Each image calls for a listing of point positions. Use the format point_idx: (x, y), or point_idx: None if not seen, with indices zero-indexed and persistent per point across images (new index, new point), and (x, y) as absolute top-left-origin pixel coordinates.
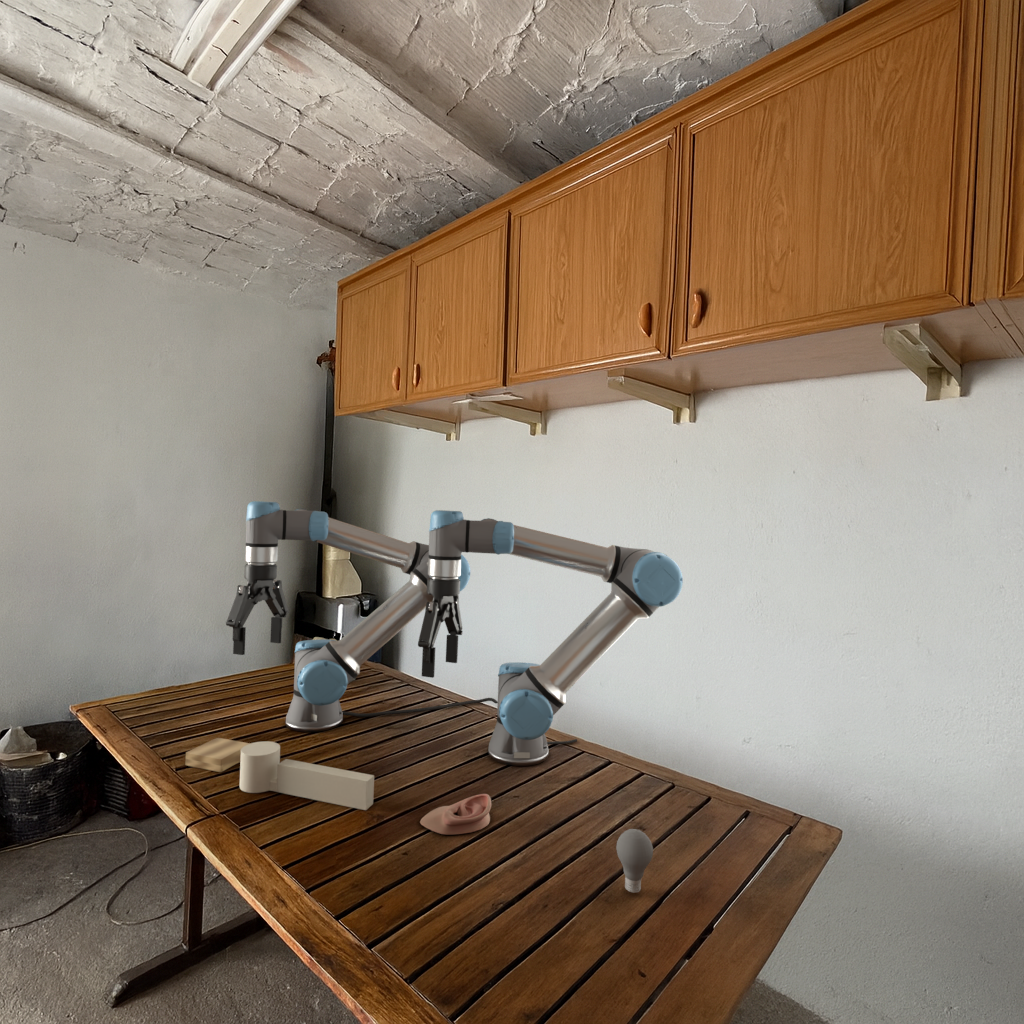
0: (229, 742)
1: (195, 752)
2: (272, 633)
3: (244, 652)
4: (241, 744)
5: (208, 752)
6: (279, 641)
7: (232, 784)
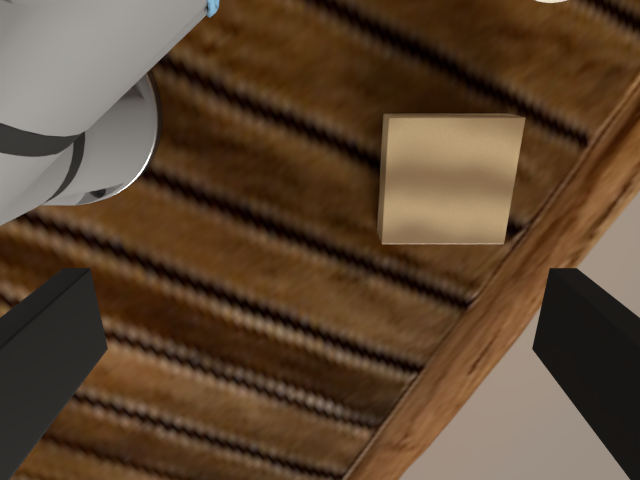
0: (404, 186)
1: (497, 221)
2: (59, 388)
3: (561, 276)
4: (404, 142)
5: (488, 188)
6: (76, 276)
7: (573, 23)
